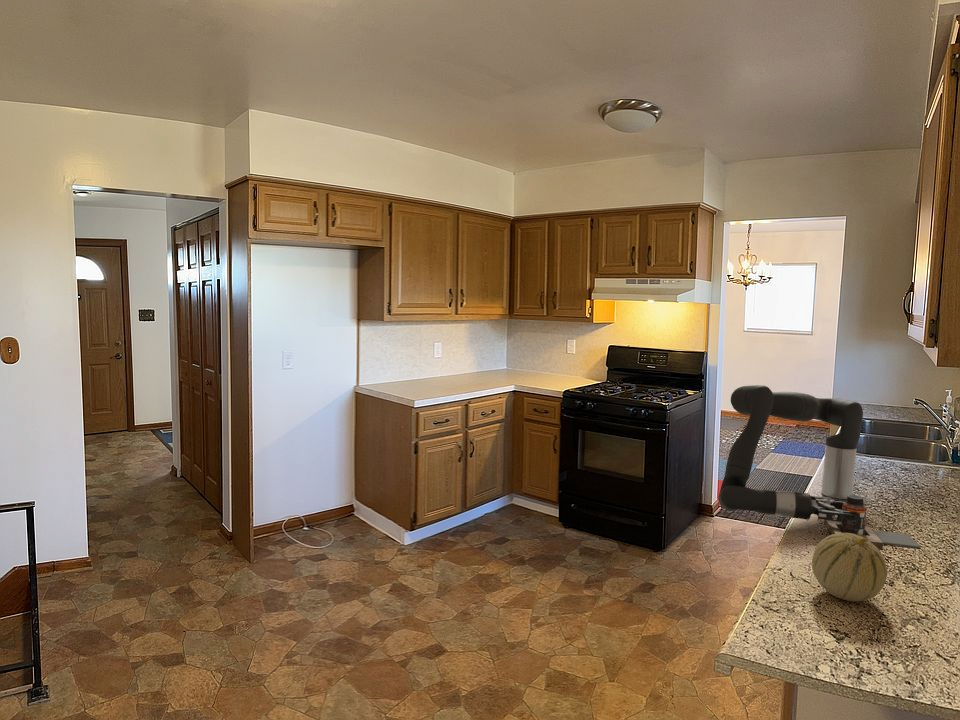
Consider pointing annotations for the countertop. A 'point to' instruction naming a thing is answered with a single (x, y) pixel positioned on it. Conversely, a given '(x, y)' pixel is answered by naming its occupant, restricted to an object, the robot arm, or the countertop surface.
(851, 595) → the cantaloupe
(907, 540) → the rubber mat
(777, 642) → the countertop surface
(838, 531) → the walnut holder
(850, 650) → the countertop surface
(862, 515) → the supplement bottle
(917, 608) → the countertop surface
